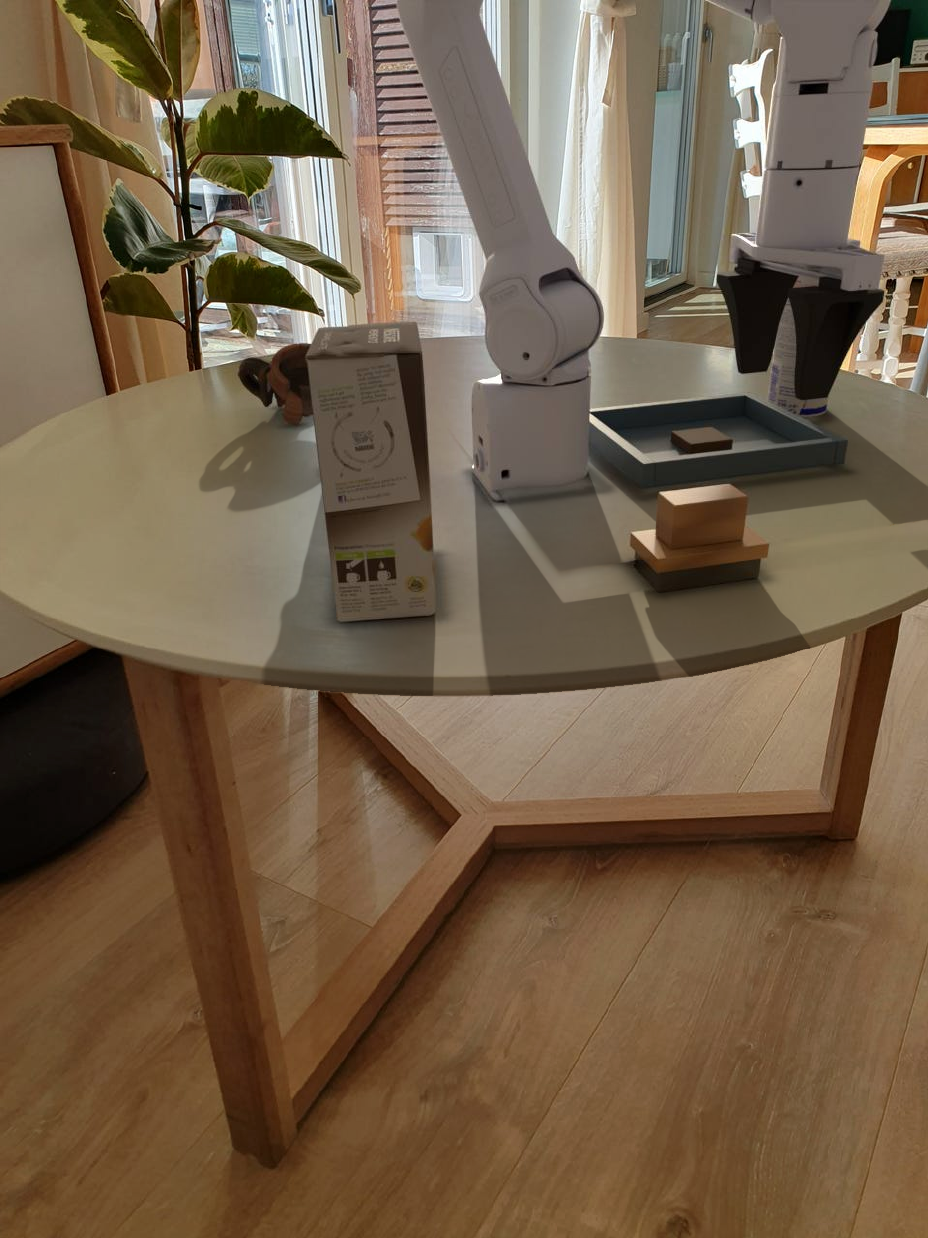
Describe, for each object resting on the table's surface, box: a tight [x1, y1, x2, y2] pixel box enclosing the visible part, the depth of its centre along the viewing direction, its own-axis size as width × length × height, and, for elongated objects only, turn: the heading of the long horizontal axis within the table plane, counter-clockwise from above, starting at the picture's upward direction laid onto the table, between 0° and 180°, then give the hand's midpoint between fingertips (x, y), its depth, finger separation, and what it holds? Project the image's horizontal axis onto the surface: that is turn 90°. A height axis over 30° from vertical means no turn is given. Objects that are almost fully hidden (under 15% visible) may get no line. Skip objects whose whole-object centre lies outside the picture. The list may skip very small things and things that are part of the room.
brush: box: [629, 483, 770, 593], centre depth 57 cm, size 8×4×6 cm, turn 103°
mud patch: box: [671, 427, 733, 455], centre depth 78 cm, size 4×4×1 cm
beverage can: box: [766, 263, 830, 418], centre depth 84 cm, size 6×6×15 cm
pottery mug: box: [237, 342, 313, 427], centre depth 93 cm, size 12×10×8 cm
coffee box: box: [305, 321, 437, 623], centre depth 54 cm, size 9×6×16 cm
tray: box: [589, 391, 849, 490], centre depth 78 cm, size 18×16×3 cm
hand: (780, 384), depth 62 cm, fingers open, 7 cm apart
